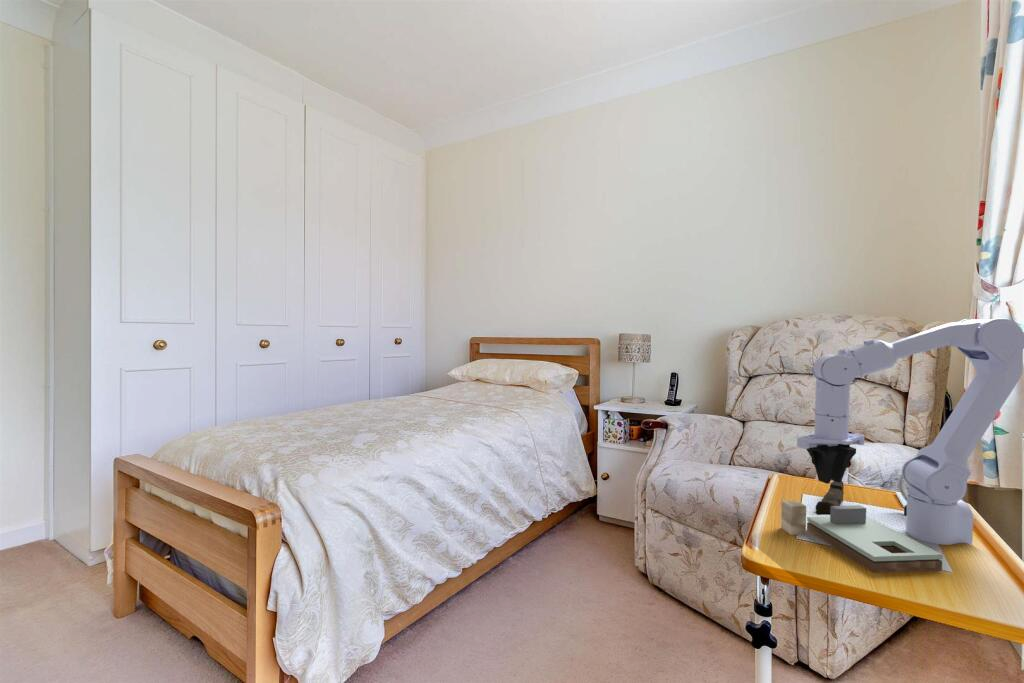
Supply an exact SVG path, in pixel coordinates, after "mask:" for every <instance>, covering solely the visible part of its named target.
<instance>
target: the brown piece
mask: <svg viewBox="0 0 1024 683" xmlns="http://www.w3.org/2000/svg"><path fill="white" fill-rule="evenodd" d="M807 531H808V532H809V533H811V534H812V535H814V536H815V537H817V538H819V539H820V540H821V541H823V542H825V543H827V544H828V545H830V546H831V547H833V548H834V549H836V550H838V551H839V552H840V553H842V554H844V555H845V556H847V557H848V558H850V559H852V560H853V561H854V562H856V563H858V564H859V565H861V566H862V567H864V568H866V569H867V570H869V571H871V572H872V573H897V572H899V573H900V572H901V573H902V572H923V571H924V572H927V571H943V559H933V560H903V561H872V560H871V559H869V558H867V557H866V556H864V555H863V554H861V553H859V552H858V551H856V550H854V549H853V548H851V547H849V546H848V545H846V544H844V543H843V542H841V541H839V540H838V539H836V538H834V537H833V536H831V535H830V534H828V533H826V532H825V531H823V530H821V529H820V528H818V527H816V526H815V525H813V524H811V523H810V522H808V521H806V532H807ZM880 547H881V548H883V549H885V550H887V551H889V552H890V553H907V552H905V551H903V550H901V549H899V548H897V547H895V546H880Z"/></svg>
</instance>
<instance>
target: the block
mask: <svg viewBox="0 0 1024 683" xmlns="http://www.w3.org/2000/svg"><path fill="white" fill-rule="evenodd" d="M780 529H782V530H783V531H784V532H786V533H788V534H789V535H790V536H794V535H806V533H807V505H805V504H803V503H801V502H800V501H798V500H796V499H795V500H794V499H793V500H781V514H780Z"/></svg>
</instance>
